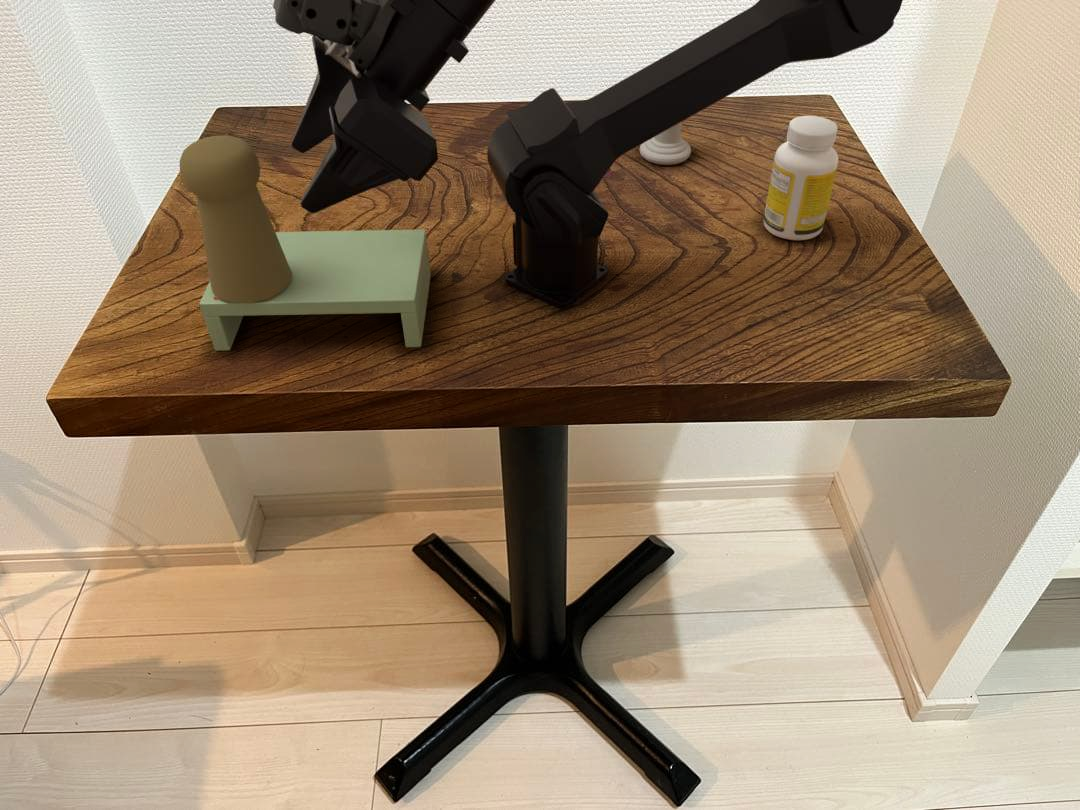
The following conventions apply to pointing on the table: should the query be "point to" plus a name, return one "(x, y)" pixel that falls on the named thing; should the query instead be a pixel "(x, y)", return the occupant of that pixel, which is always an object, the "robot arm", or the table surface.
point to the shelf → (339, 281)
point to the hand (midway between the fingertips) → (301, 177)
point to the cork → (234, 220)
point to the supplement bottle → (802, 179)
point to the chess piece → (666, 147)
